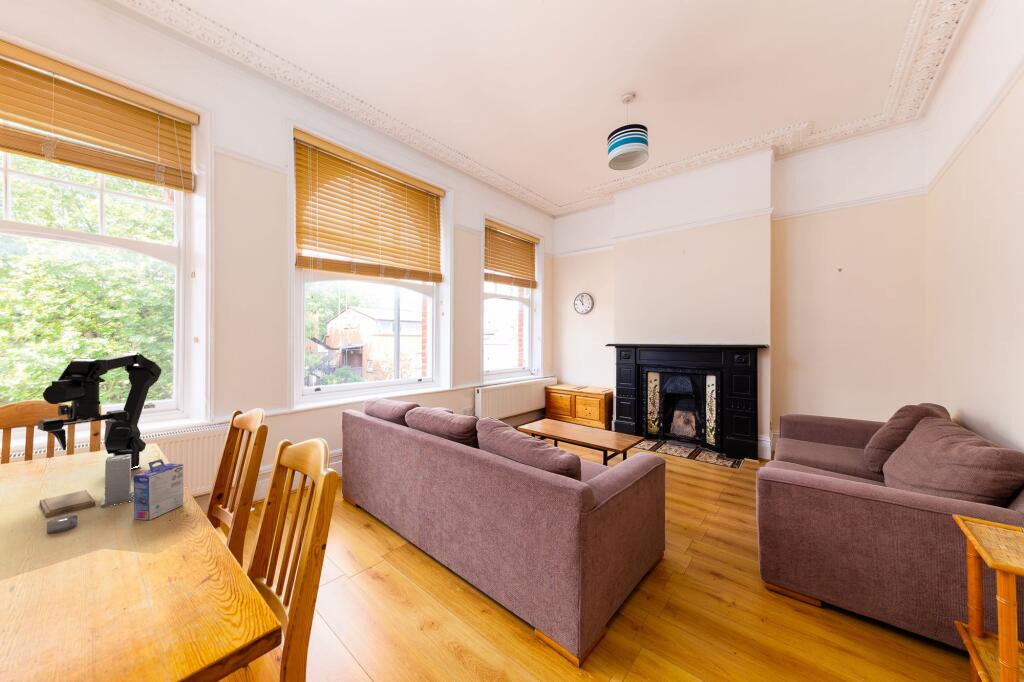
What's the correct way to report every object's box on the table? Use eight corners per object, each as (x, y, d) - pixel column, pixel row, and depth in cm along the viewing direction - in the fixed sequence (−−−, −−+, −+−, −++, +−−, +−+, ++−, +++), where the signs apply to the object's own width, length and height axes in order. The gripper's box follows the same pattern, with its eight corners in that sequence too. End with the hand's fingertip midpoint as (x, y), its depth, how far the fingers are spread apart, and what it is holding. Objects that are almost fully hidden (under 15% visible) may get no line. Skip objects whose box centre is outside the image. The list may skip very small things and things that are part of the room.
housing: (103, 500, 113) (104, 456, 112) (134, 494, 117) (134, 452, 117) (100, 507, 108) (101, 462, 108) (132, 501, 112) (133, 458, 112)
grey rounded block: (75, 522, 100) (75, 513, 100) (78, 528, 97) (79, 518, 97) (45, 530, 96) (45, 520, 96) (48, 536, 93) (48, 526, 93)
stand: (86, 493, 116) (86, 489, 116) (95, 505, 109) (95, 500, 109) (39, 504, 109) (39, 499, 109) (46, 517, 101) (46, 512, 101)
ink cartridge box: (168, 503, 112) (168, 455, 112) (184, 504, 111) (185, 456, 111) (131, 519, 102) (132, 466, 102) (149, 521, 101) (150, 467, 101)
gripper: (116, 391, 133) (115, 435, 133) (32, 399, 116) (31, 449, 116) (129, 395, 128) (129, 440, 128) (44, 403, 111) (43, 456, 111)
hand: (85, 446), depth 121 cm, fingers open, 9 cm apart
